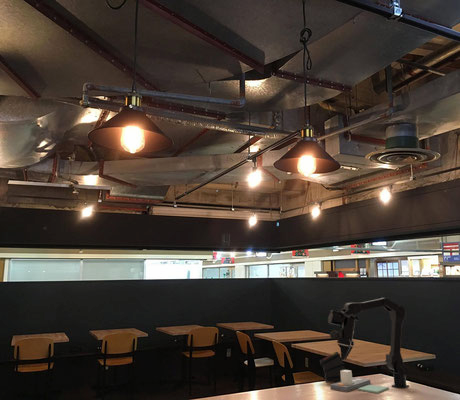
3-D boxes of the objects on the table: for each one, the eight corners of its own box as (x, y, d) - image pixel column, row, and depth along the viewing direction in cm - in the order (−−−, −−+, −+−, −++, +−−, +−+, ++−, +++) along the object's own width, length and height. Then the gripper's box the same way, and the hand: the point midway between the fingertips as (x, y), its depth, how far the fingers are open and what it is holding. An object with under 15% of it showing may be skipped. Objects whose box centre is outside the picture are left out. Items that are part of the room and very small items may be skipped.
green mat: (369, 386, 216) (369, 384, 216) (388, 389, 209) (388, 387, 209) (357, 390, 208) (357, 388, 208) (377, 393, 201) (377, 391, 201)
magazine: (352, 378, 227) (338, 352, 230) (330, 390, 226) (317, 363, 229) (350, 377, 231) (337, 351, 234) (329, 388, 230) (316, 362, 233)
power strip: (358, 380, 231) (358, 375, 231) (374, 382, 225) (373, 377, 225) (330, 389, 211) (330, 383, 212) (347, 391, 205) (346, 385, 206)
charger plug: (345, 386, 217) (344, 369, 218) (352, 387, 214) (351, 370, 216) (341, 387, 214) (340, 370, 215) (348, 388, 211) (347, 371, 213)
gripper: (334, 325, 229) (330, 355, 225) (329, 323, 212) (324, 355, 208) (356, 329, 224) (351, 360, 220) (352, 328, 208) (347, 361, 204)
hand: (343, 359), depth 213 cm, fingers open, 9 cm apart
